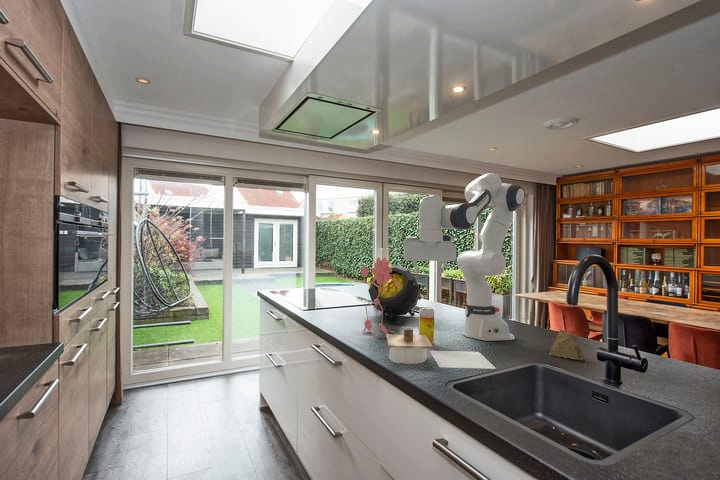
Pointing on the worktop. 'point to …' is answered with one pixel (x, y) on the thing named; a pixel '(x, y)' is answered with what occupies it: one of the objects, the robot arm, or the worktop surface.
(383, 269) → the figurine
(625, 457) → the worktop surface
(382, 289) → the cauldron
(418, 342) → the lid
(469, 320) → the robot arm
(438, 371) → the worktop surface
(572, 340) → the rock
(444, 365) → the mat
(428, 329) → the beer can
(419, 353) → the bowl
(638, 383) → the worktop surface
